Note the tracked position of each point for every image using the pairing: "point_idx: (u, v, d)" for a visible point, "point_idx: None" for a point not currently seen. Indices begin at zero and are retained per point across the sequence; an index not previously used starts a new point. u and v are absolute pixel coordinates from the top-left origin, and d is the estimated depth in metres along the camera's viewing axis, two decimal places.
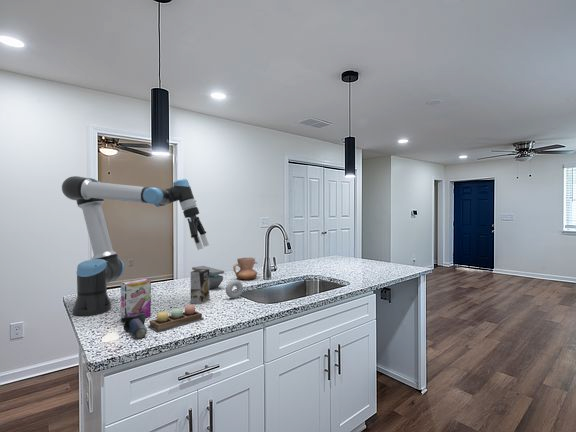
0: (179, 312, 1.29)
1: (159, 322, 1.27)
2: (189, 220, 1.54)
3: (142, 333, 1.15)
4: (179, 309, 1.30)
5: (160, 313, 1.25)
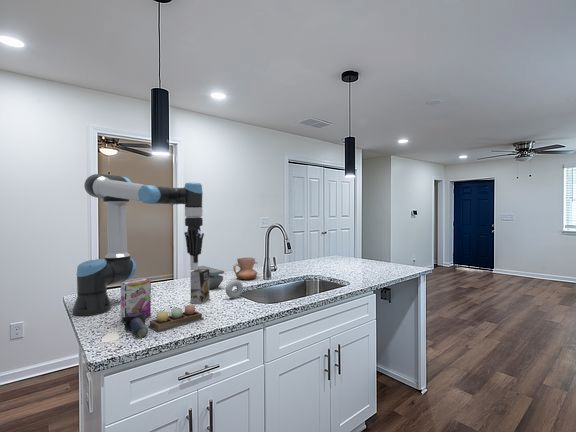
0: (179, 312, 1.29)
1: (159, 322, 1.27)
2: (200, 236, 1.35)
3: (143, 332, 1.15)
4: (179, 309, 1.30)
5: (160, 313, 1.25)
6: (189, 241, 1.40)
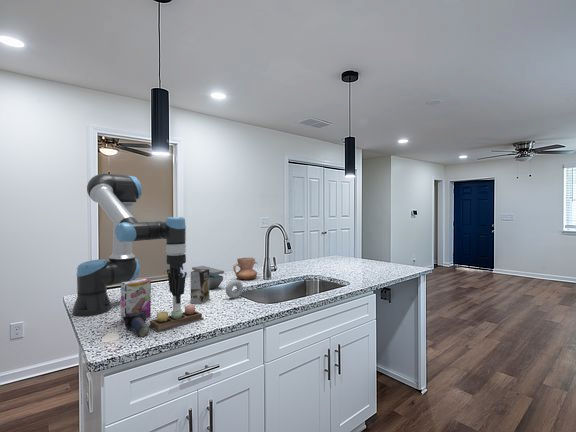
0: (179, 313, 1.29)
1: (159, 322, 1.27)
2: (182, 276, 1.25)
3: (145, 331, 1.16)
4: None
5: (160, 313, 1.25)
6: (171, 280, 1.30)
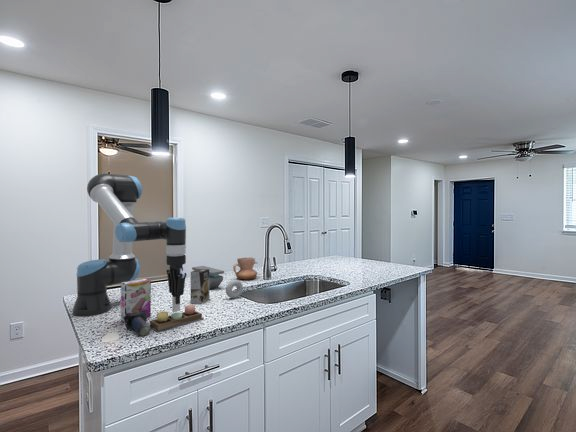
0: (179, 316, 1.29)
1: (159, 322, 1.27)
2: (182, 277, 1.25)
3: (146, 331, 1.17)
4: (179, 313, 1.30)
5: (160, 313, 1.25)
6: (171, 280, 1.30)
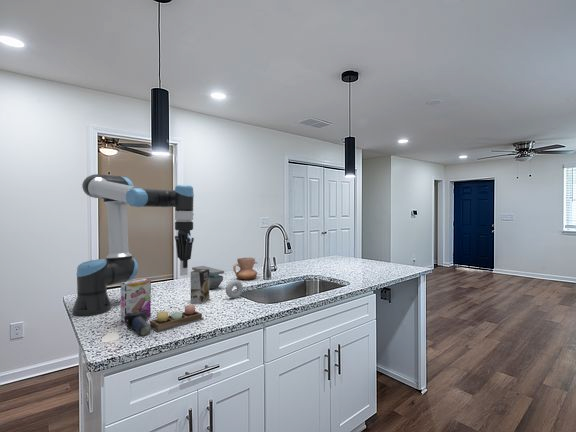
0: (179, 316, 1.29)
1: (159, 322, 1.27)
2: (189, 241, 1.31)
3: (146, 330, 1.17)
4: (179, 313, 1.30)
5: (160, 313, 1.25)
6: (179, 245, 1.36)
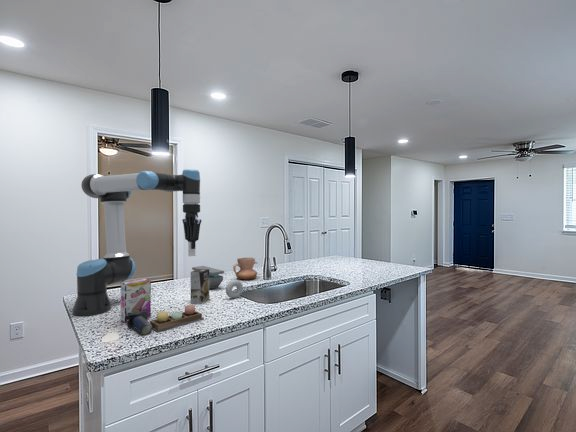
0: (179, 316, 1.29)
1: (159, 322, 1.27)
2: (197, 222, 1.37)
3: (148, 329, 1.18)
4: (179, 313, 1.30)
5: (160, 313, 1.25)
6: (187, 227, 1.41)
